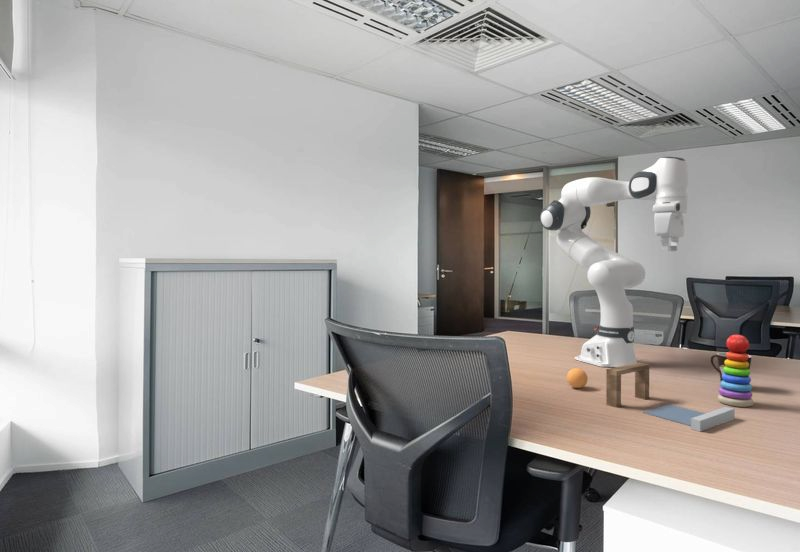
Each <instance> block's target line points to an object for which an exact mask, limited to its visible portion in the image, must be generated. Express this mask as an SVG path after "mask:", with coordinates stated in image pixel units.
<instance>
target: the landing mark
mask: <svg viewBox="0 0 800 552" xmlns="http://www.w3.org/2000/svg"><path fill="white" fill-rule="evenodd" d="M642 413H643V414H646V415H648V416H649V415H650V416H653V417H656V418H660V419H663V420H667V421H671V422H674V423H679V424H683V425H686V426H689V427H691V418H694V417H697V416H700V415H703V414H706V412H701V411H697V410H695V409H690V408H687V407H686V408H685V407H683V406H682V407H681V406H677V405H673V404H670V403H669V404H666V405H662V406H659V407H655V408H652V409H648V410H644V411H642Z"/></svg>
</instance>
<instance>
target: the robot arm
mask: <svg viewBox="0 0 800 552" xmlns="http://www.w3.org/2000/svg"><path fill="white" fill-rule="evenodd" d="M688 171H689V169H688V164H687V162H686V159H684V158H682V157H677V156H675V157H674V156H662V157H659V158H658V159H657V161H656V162H655V163H654V164H652V165H651V166H649V167H648V168H645V169H643V170H641V171H637V172H636V173H634V174H633V175H632V177H631V178H630V179H629V181H623V180H617V179H611V178H605V177H599V176H597V177H596V176H592V177H584V178H583V177H582V178H579V179H574V180H573V181H570V182H567V183H566V184H565V185H564V186H563V187H562V189H561V192H560V199H559V200H556V199H554V200H552V201H551V202H550V203H549V204H548V205H546V206H545V207H543V208H542V210H541V212H540V214H539V215H540V216H539V219H540V220H539V221H540V224H541V226H542V227H543V228H544V229H545V230H548V231H558V230H559V231H558V234H557V235H556V243H557V244H556V245H558V247H559V248H560V249H561V250H562V252H563V253H565V255H566V256H567V257H568V258H570V259H572V260H573V261H574V262H575V263H577V264H578V265H579V266H580V267H582V268H583V269H584V270H586V271H587V274H586V277H587V280H588V283H589V284H590V285H591V287H593V289H594V291H595V292H596V294H597V298H598V301H599V305H600V306H599V307H600V309H599V311H600V325H598V326H595V327H594V329H593V330H594V331H596V334H595V335H594V336H592V337H591V338H590V339H588V340H587V341H586V342H584V343H583V344H582V346H581V350H580V354H578V355H576V356H574V360H575V361H576V360H577V361H580V362H583V363H586V364H590V365H594V366H598V367H601V368H602V367H603V368H604V367H605V368H608V367H609V368H615V367H620V366H624V365H629V364H634V363H638V361H637V358H636V357H637V356H636V352H635V346H634V340H635V327H634V307H633V304H632V303H631V302H630V301H629V300H628V298H627V294H626V290H627V289H633V288H635V287H638V286H639V285H641V284H642V283H643V282H644V281H645V279H646V271H645V268H644V266H643V265H642V264H641V263H639V262H638V261H635V260H632V259H629V258H628V257H625V256H624V255H622V254H619V253H618V252H616V251H613V250H611V249H610V248H607V247H605V246H604V245H602V244H601V243H599V242H598V241H597V240H595V239H593V238H592V237H591V236H590V235H588V234H586V232H584V231H583V230H584V229H585V228H586V227H587V223H588V222H589V221H590V218H591V213H592V212H591V207H596V206H601V205H606V204H610V203H614V202H619V201H624V200H641V201H654V202H655V203H654V205H653V206H652V212H653V213H654V233H655V236H657V237H660V241H661V249H662V252H669V251H670V252H677V251H678V245H679V241H680V238H683V237H684V236H685V235H684V234H685V220H684V215H683V214H686V213H688V194H687V187H688V185H689V172H688Z"/></svg>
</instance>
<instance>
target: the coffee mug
mask: <svg viewBox="0 0 800 552" xmlns="http://www.w3.org/2000/svg"><path fill="white" fill-rule="evenodd" d="M726 353H727V352H725V351H724V352H723V351H722V352H717V353H716V355H715V354H713V355H712V356H710V364H711V366H712V367H713V368H714V369H715V370H716V372H718V373H719V380H720V382H721V381H722V380H723V379H722V375H723V374H724V373H725V372H724V371H723V369H724V367H725V366H726V365H725V364H724V361H725V360H726V359H728V358H727V357H726ZM747 355H748V356H749V358H748V360H747V362H748V363H749V367H748V369H749V370H750V368H751V362H752V355H749V354H747ZM714 358H717V364H718V365H717V366H718V368H717V367H716V365H715V363H714ZM750 371H751V370H750Z"/></svg>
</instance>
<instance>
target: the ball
mask: <svg viewBox="0 0 800 552" xmlns="http://www.w3.org/2000/svg"><path fill="white" fill-rule="evenodd" d="M588 379H589V378H588V374H587V373H586V371H585V370H583V369H581V368H578V367H577V368H576V367H575V368H572V369H570V370H569V371H568V372H567V374H566V380H567V383H568V385H569V386H570V387H572V388H573V389H581V388H584V387H585V386H586V385H587V383H588Z"/></svg>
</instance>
